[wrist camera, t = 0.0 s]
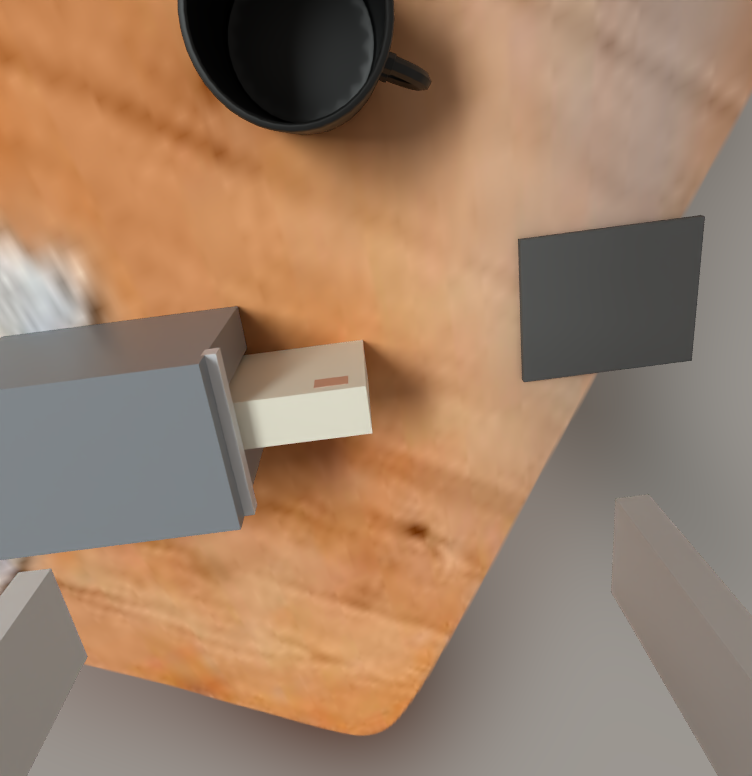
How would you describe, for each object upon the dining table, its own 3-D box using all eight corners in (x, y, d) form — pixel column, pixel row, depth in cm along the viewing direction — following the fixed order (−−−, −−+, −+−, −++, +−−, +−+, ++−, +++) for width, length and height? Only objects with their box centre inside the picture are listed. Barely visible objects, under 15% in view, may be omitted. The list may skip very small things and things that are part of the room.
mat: (518, 239, 39) (520, 240, 38) (700, 215, 39) (704, 216, 38) (522, 379, 43) (523, 382, 42) (687, 358, 43) (691, 360, 42)
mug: (393, 171, 37) (406, 180, 29) (202, 101, 35) (156, 88, 27) (449, 4, 34) (482, -41, 25) (242, -84, 32) (203, -164, 23)
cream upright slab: (177, 363, 41) (137, 415, 33) (362, 339, 41) (365, 385, 33) (188, 402, 42) (151, 461, 35) (368, 379, 42) (372, 433, 34)
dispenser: (2, 336, 40) (-119, 405, 29) (246, 305, 40) (210, 362, 29) (52, 465, 44) (-41, 565, 33) (274, 436, 44) (251, 528, 33)
